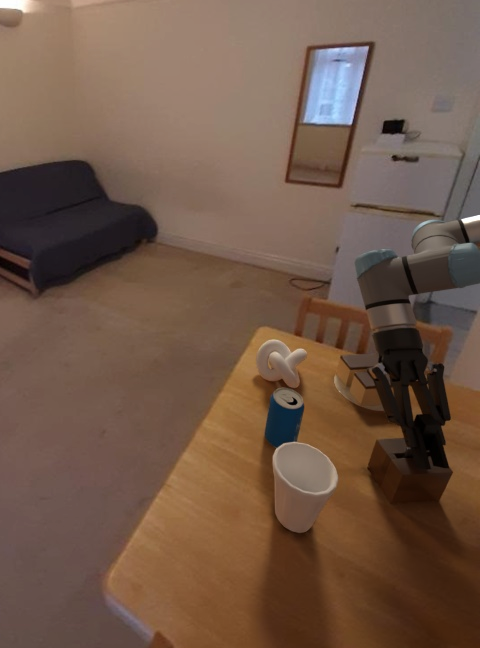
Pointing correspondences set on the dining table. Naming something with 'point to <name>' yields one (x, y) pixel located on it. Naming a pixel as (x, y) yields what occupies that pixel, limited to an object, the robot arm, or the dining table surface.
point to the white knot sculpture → (279, 362)
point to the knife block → (405, 474)
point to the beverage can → (284, 417)
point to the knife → (424, 431)
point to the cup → (301, 484)
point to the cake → (360, 377)
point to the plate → (347, 395)
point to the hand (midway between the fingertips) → (432, 467)
